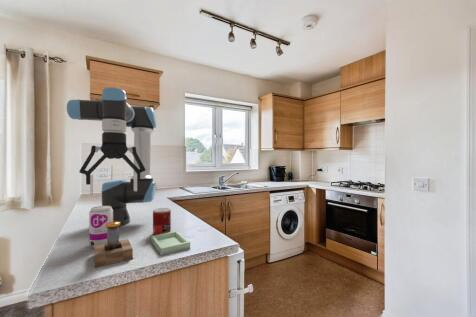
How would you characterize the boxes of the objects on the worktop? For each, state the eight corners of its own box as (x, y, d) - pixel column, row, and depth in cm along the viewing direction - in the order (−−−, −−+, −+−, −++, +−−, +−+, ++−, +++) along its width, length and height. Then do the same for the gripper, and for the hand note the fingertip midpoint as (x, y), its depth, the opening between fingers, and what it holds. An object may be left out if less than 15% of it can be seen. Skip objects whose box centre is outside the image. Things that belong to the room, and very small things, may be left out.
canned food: (165, 236, 98) (165, 211, 99) (149, 235, 100) (149, 211, 100) (173, 231, 106) (173, 208, 106) (158, 230, 108) (158, 207, 108)
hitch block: (94, 255, 80) (94, 245, 80) (128, 248, 86) (128, 239, 86) (94, 267, 70) (94, 256, 70) (132, 258, 77) (132, 248, 77)
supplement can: (108, 247, 86) (108, 209, 86) (85, 249, 85) (85, 210, 85) (116, 240, 94) (116, 205, 94) (95, 241, 93) (95, 205, 93)
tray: (151, 241, 93) (151, 235, 93) (176, 236, 99) (176, 231, 99) (161, 254, 79) (161, 248, 79) (190, 248, 86) (190, 242, 86)
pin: (105, 256, 79) (105, 222, 79) (119, 253, 81) (119, 220, 81) (105, 261, 75) (105, 225, 75) (121, 257, 77) (121, 223, 78)
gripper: (69, 128, 68) (69, 197, 68) (153, 133, 82) (153, 190, 82) (71, 131, 75) (71, 194, 74) (149, 135, 89) (149, 188, 89)
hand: (114, 192), depth 78 cm, fingers open, 13 cm apart
